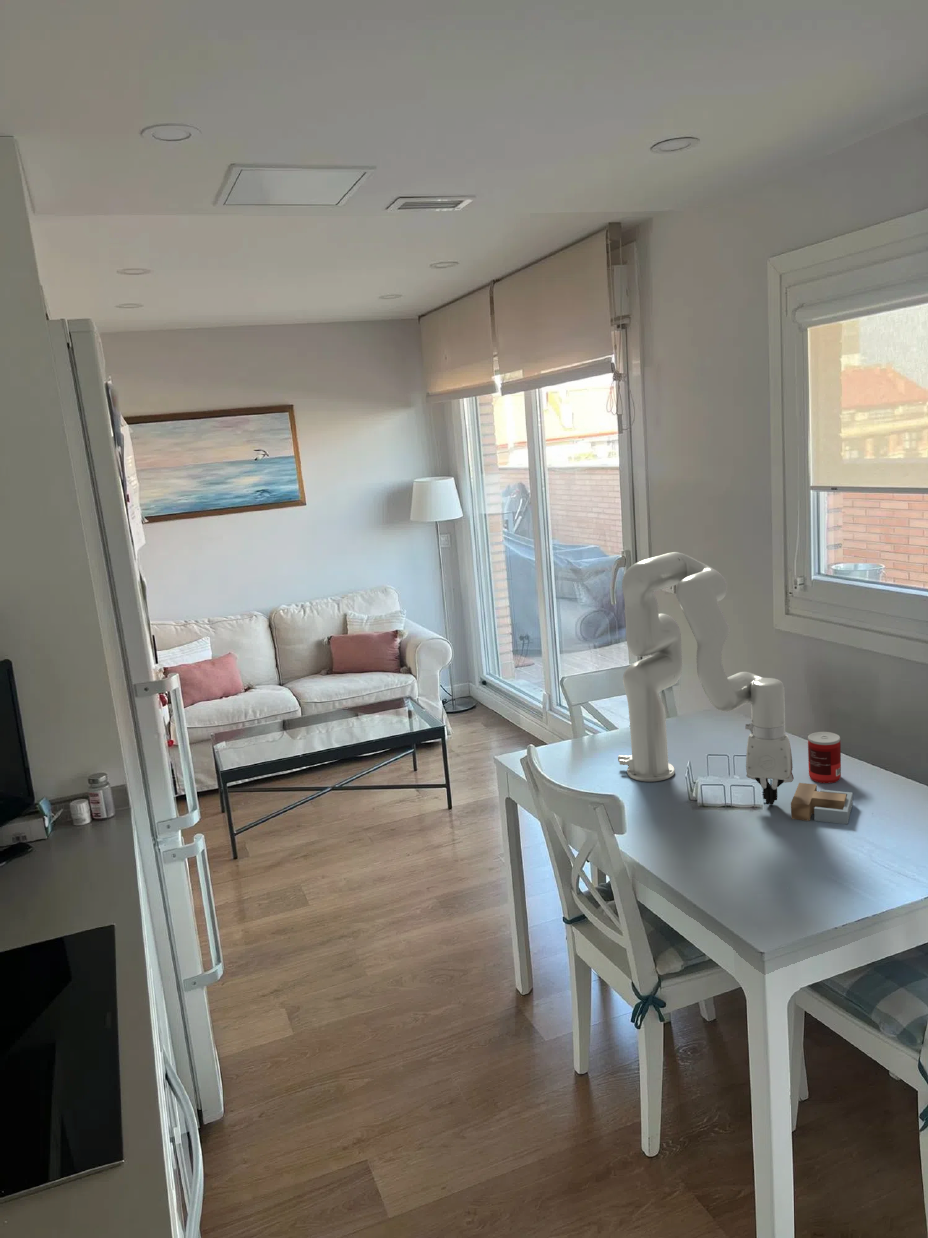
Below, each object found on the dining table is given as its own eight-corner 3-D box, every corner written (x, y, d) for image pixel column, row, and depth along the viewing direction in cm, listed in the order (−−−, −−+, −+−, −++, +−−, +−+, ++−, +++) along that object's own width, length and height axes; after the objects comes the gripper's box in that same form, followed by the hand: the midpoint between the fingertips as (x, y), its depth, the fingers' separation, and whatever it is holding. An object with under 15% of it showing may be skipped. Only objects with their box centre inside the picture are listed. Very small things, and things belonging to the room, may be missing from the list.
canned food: (835, 770, 231) (834, 730, 229) (845, 783, 224) (844, 741, 221) (804, 772, 232) (803, 732, 230) (813, 784, 225) (812, 743, 222)
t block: (791, 819, 208) (790, 803, 207) (799, 798, 218) (799, 782, 217) (842, 824, 203) (842, 808, 202) (848, 803, 213) (848, 787, 212)
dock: (814, 820, 206) (814, 808, 205) (821, 801, 215) (820, 789, 215) (847, 824, 203) (847, 812, 202) (852, 804, 212) (852, 792, 211)
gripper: (732, 733, 212) (735, 805, 216) (799, 738, 205) (800, 812, 209) (739, 722, 219) (741, 792, 223) (804, 727, 211) (805, 799, 215)
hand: (770, 802), depth 216 cm, fingers closed
